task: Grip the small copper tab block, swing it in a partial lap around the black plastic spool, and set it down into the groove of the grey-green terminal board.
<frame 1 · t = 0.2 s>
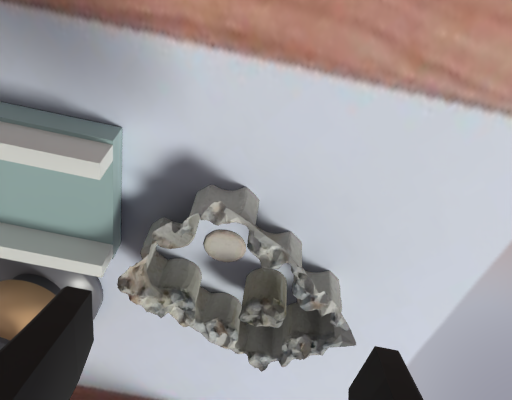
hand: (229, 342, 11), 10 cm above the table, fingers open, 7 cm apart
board: (28, 172, 21), on the table
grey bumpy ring: (249, 257, 24), on the table
spool: (44, 283, 26), on the table
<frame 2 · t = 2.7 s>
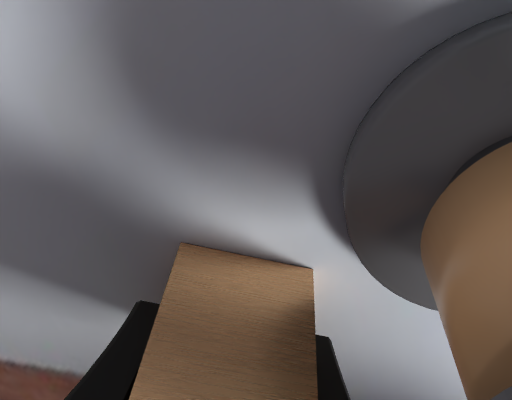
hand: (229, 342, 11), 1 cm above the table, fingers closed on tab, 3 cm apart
tab: (235, 299, 12), on the table, touching gripper
spool: (508, 179, 9), on the table
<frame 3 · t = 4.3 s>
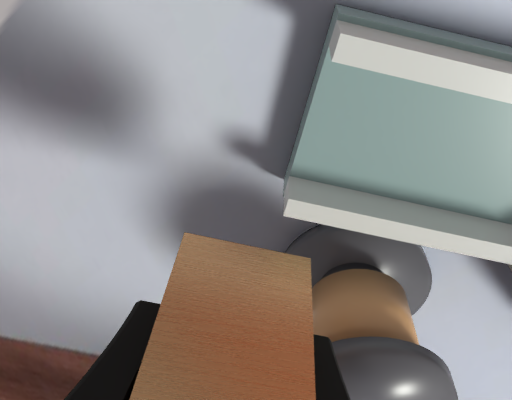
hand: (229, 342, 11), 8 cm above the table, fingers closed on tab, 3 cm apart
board: (422, 129, 16), on the table
tab: (236, 288, 13), point 6 cm above the table, touching gripper
spool: (351, 274, 21), on the table
when the fingers open (4 cm above the table, at t = 5.9 s): tab stays where it is, resting on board.
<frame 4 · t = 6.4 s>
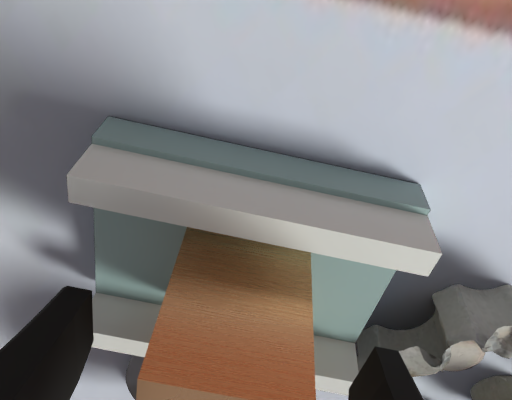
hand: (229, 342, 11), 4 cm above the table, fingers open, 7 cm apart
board: (244, 241, 14), on the table
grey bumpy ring: (477, 361, 18), on the table
tab: (240, 271, 13), point 1 cm above the table, touching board
spool: (211, 374, 19), on the table
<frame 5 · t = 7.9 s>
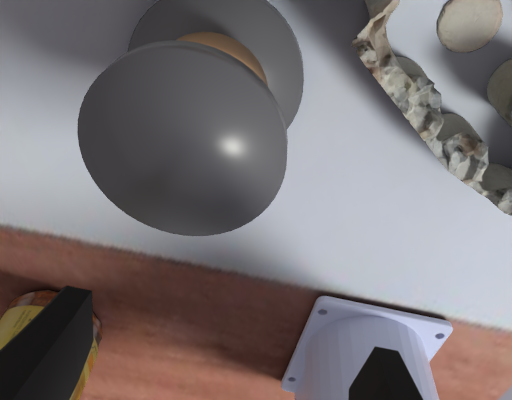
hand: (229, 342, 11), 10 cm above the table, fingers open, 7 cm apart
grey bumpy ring: (494, 46, 17), on the table
spool: (217, 75, 18), on the table
sauce bottle: (63, 314, 28), on the table
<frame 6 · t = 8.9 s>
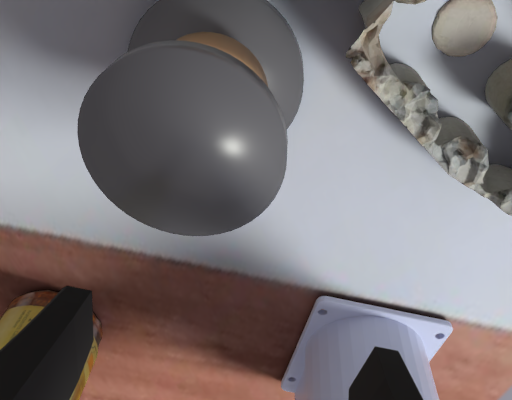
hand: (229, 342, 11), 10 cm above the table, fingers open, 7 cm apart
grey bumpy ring: (490, 49, 17), on the table
spool: (217, 75, 18), on the table
sauce bottle: (63, 314, 28), on the table
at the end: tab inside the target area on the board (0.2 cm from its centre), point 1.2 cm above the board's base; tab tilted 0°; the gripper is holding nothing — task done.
